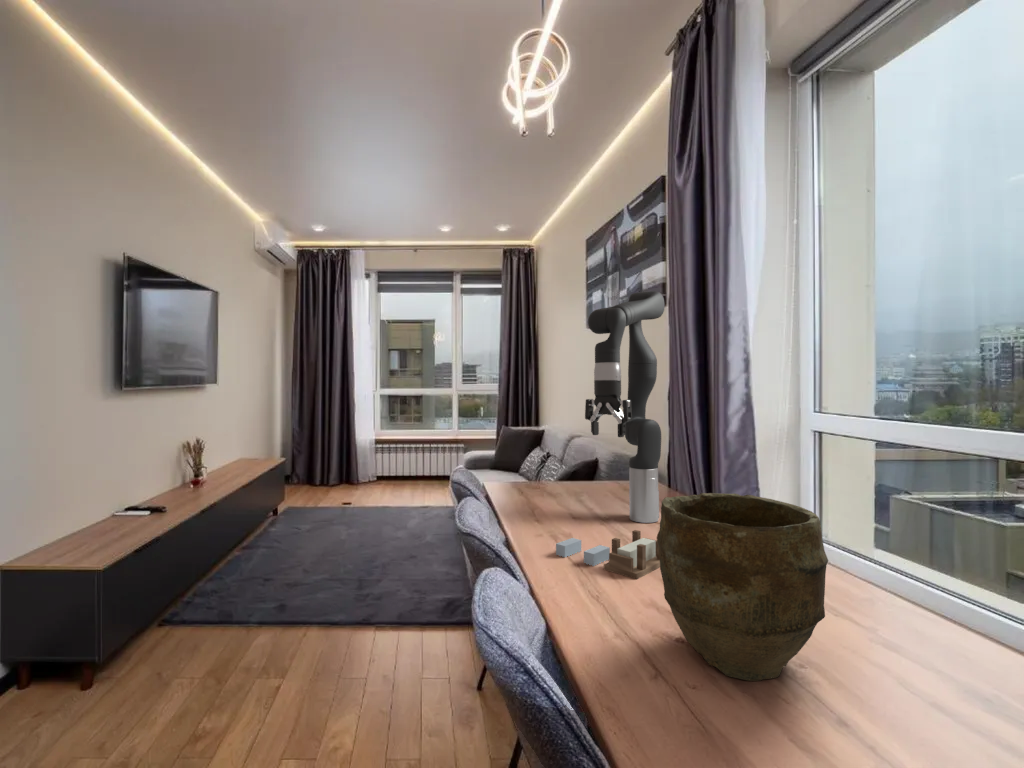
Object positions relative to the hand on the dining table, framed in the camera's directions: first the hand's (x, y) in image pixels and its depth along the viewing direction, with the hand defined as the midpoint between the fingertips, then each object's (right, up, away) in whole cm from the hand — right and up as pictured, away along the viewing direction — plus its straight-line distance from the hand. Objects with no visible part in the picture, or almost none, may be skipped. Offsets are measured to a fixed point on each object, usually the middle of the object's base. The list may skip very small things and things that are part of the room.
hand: (608, 436), depth 145 cm
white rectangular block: (+4, -29, -19) cm, 35 cm away
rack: (+4, -30, -19) cm, 36 cm away
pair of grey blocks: (-9, -30, -13) cm, 34 cm away
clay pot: (+10, -30, -61) cm, 69 cm away
